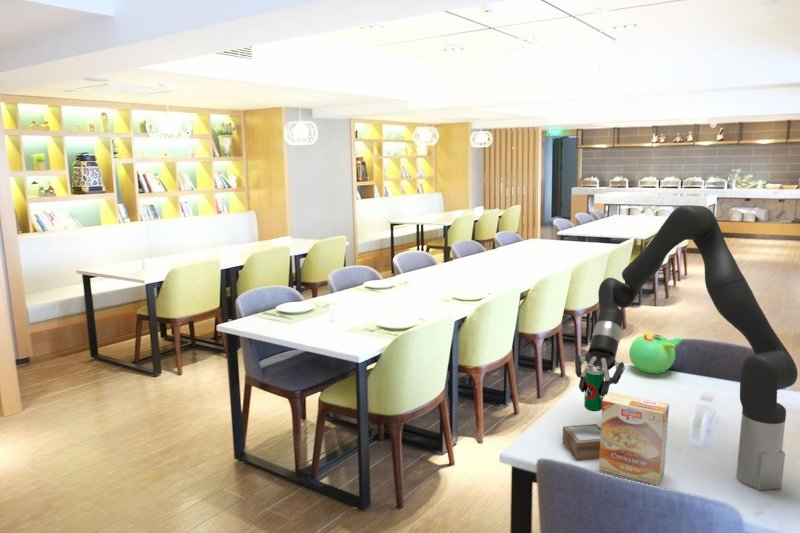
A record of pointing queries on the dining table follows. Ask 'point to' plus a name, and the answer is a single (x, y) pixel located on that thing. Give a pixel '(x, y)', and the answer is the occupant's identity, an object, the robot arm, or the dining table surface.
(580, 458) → the walnut plinth
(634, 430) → the coffeecake box
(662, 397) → the dining table surface
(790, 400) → the dining table surface
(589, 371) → the soda can
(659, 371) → the toy bird
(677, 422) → the dining table surface
